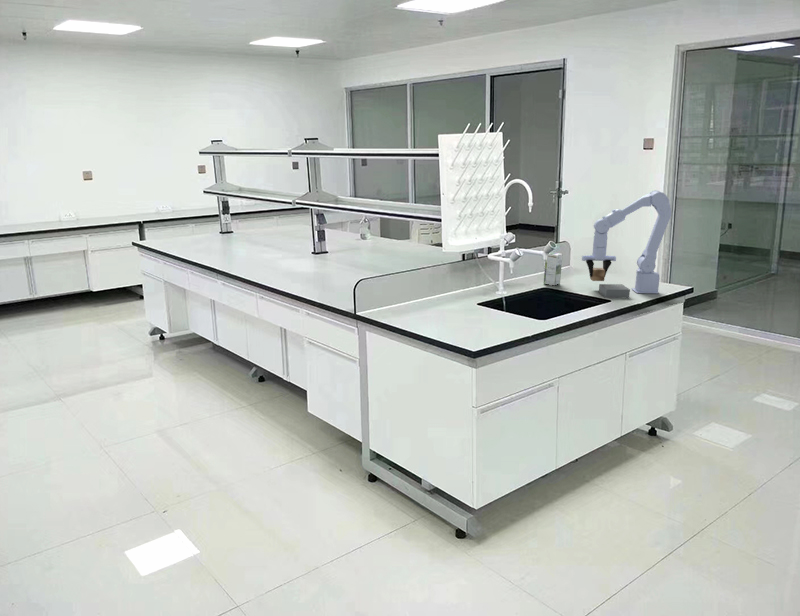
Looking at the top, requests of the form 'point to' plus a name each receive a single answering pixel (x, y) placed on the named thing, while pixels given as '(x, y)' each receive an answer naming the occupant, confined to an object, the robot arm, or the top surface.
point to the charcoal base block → (614, 290)
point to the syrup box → (553, 269)
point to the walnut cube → (598, 274)
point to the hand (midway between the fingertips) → (597, 276)
